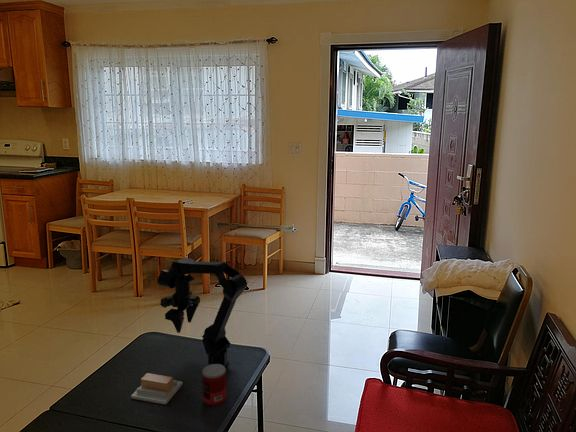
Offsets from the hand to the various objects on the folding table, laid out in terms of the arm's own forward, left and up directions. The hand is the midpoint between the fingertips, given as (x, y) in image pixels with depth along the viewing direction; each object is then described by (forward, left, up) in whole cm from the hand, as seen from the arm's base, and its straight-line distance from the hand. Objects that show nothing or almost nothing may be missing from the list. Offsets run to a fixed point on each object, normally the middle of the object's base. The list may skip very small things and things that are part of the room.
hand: (184, 327), depth 180 cm
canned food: (-23, +24, -12) cm, 35 cm away
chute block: (-2, +25, -11) cm, 27 cm away
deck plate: (-2, +25, -12) cm, 28 cm away
